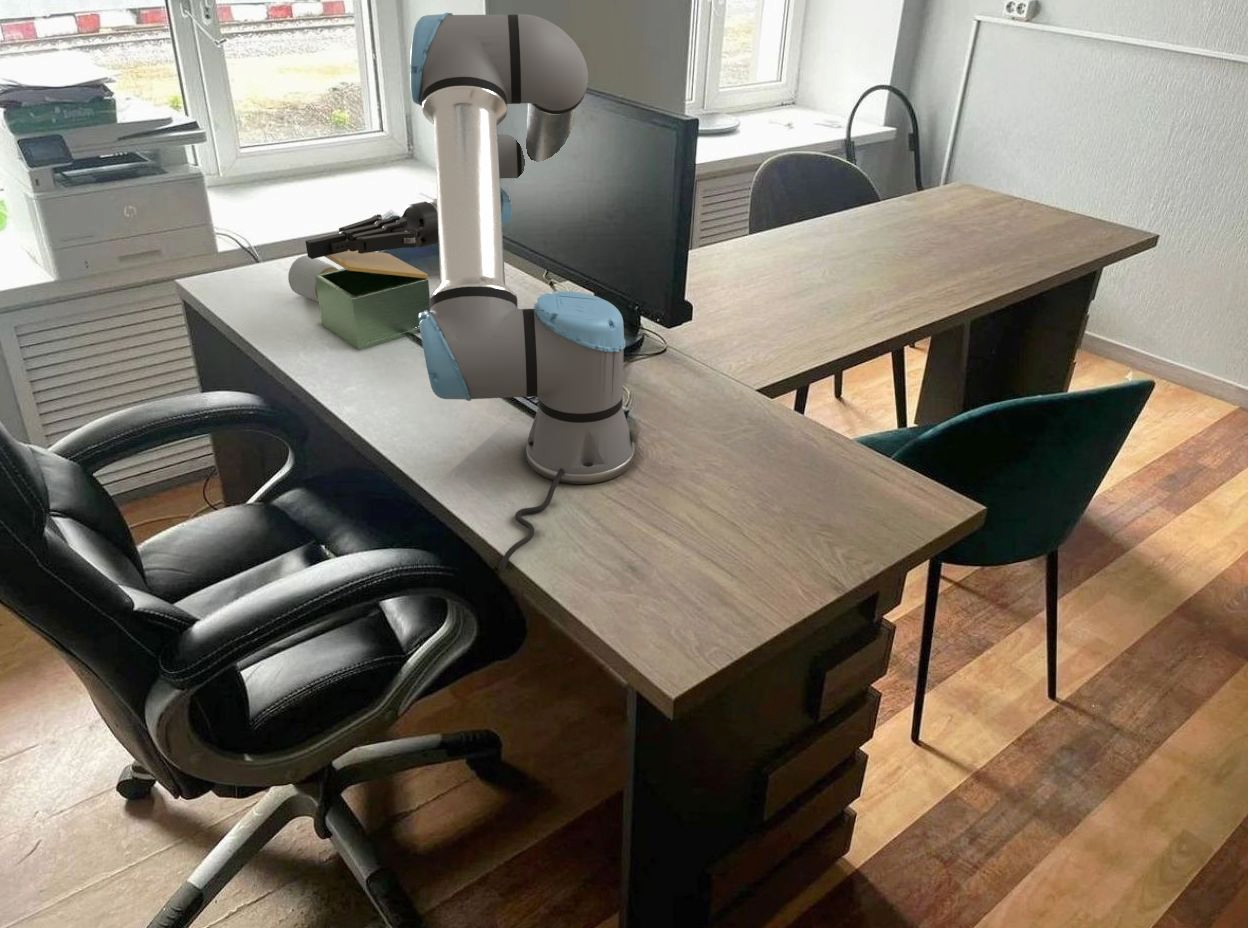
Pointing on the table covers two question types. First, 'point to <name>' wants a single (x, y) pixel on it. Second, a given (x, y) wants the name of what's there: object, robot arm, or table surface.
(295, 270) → the ceramic mug
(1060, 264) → the table surface
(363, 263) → the lid
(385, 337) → the tea tin
